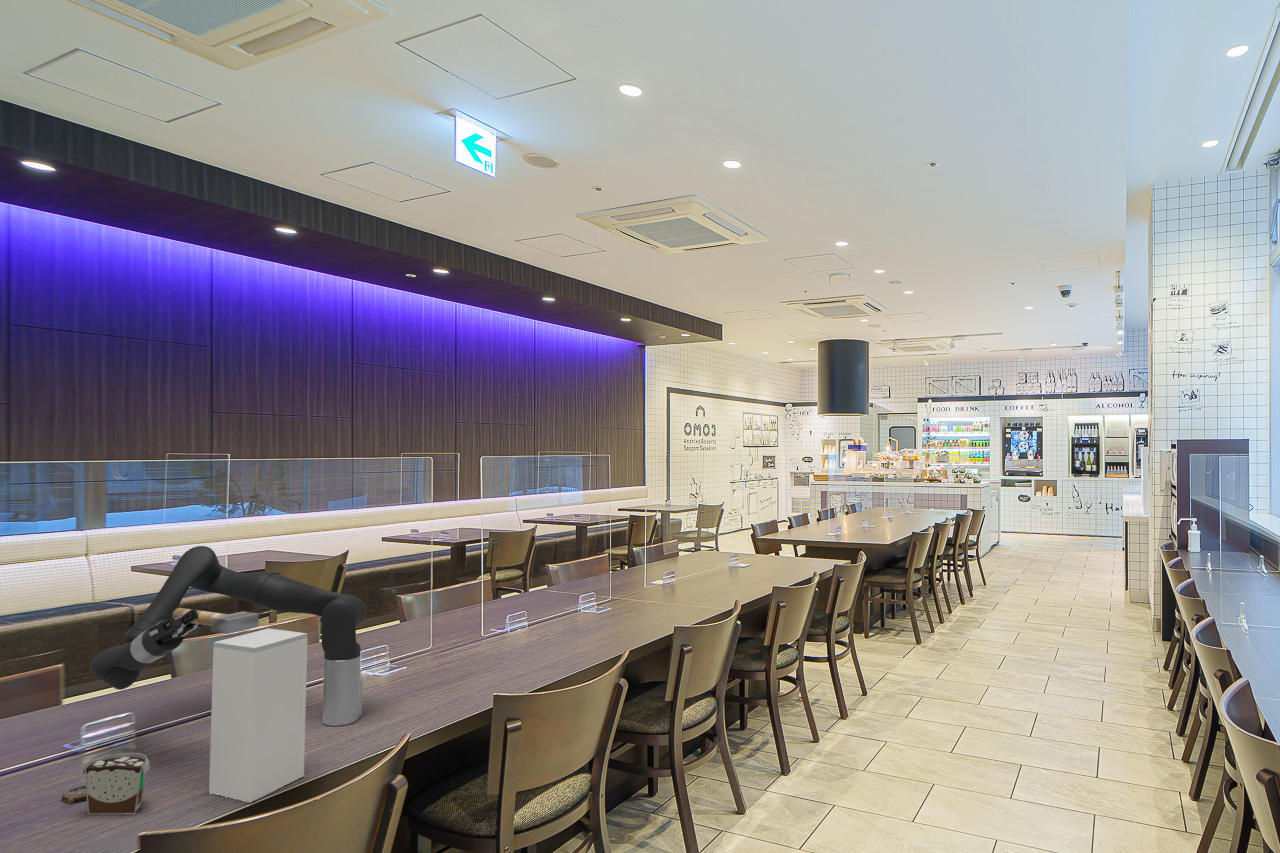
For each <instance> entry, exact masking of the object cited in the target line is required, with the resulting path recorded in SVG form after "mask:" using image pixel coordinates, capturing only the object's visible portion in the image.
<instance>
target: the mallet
mask: <svg viewBox="0 0 1280 853" xmlns="http://www.w3.org/2000/svg"><path fill="white" fill-rule="evenodd" d="M190 610H192V609H190V608H184V607H183V608H182V607H178V608H177V609H176V610H175V611H174V612H173V615H172V617H173V618H177V617H179V616H182V615H184V614H186V613H187V612H189V611H190ZM196 611H197V613H198V618H196V619H195V620H194V621H192V622H190V623H194V624H201V625H206V626H209V627H210V628H211V629H210V630H211V633H218V634H225V635H229V634H235V633H237V632H242V631H245V630H250V629H254V628H258V627H259V620H260V619H259V618H260V616H259V615H260V614H259V612H250V611H240V612H233V613H229V614H228V613H220V612H213V611H212V612H207V611H200V610H199V609H196Z"/></svg>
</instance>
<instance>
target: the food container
mask: <svg viewBox="0 0 1280 853" xmlns="http://www.w3.org/2000/svg"><path fill="white" fill-rule="evenodd" d="M149 770H150V762H149V759H148V757H147V755H145V753H144V754H143V753H139V752H124V753H115V754H109V755H106V756H101V757H99V758H95V759H93V760H91V761H88V762H86V763H84V766H83V768H82V771H81V775H84V777H85V778H84V780H85V785H86V796H87V800H86V804H87V805H86V808H87V810H86V811H87V815H88V814H123V815H126V814H125V813H136V812H137V811H138V810H139V809H140V810H141V806H142V799H143V793H144V792H143V791H144V784H145V778H146V777H145V776H146V773H147V772H149ZM140 810H139V811H140ZM136 814H137V813H136Z"/></svg>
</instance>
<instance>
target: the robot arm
mask: <svg viewBox="0 0 1280 853" xmlns="http://www.w3.org/2000/svg"><path fill="white" fill-rule="evenodd" d="M190 588H192V589H193V590H198V591H201V592H206V593H207V592H208V593H213V594H219V595H224V596H228V597H231V598H234V599H237V600H239V601H243V602H247V603H250V604H253V605H255V606H259V607H262V608H265V609H268V610H272V611H276V612H281V613H282V612H284V613H290V614H291V613H293V614H294V613H295V614H307V615H313V616H318V617H321V622H320V623H321V624H320V625H321V628H320V629H321V630H320V631H321V647H322V650H323V653H324V654H323V655H324V656H323V657H324V658H323V661H324V662H323V663H324V664H323V691H322V692H323V694H322V695H323V696H322V697H323V698H322V699H323V701H322V702H323V703H322V724H324V725H325V726H335V727H337V726H339V727H340V726H344V725H349V724H352V723H355V722H357V721H358V720H359V719H360V717H362V711H363V681H362V680H361V652H362V651H361V650H362V648H361V644H360V643H358V642H357V634H356V633H357V626H359V625H360V624H361V623H362V622H363V621H364V619H365V618H366V615H367V606H366V605H365V603H364V602H363V601H362V599H360V598H359V597H357V596H354V595H352V594H347V593H343V592H342V593H341V592H336V591H332V590H331V591H330V590H326V589H322V588H318V587H316V586H313V585H310V584H308V583H304V582H301V581H299V580H295V579H293V578H289V577H286V576H284V575H281V574H276V573H274V572H270V571H269V572H268V571H259V572H258V571H257V572H249V573H245V572H244V573H243V572H238V571H235V570H232V569H229V568H227V567H224V566H223V565H221V564H220V561H219V559H218V557H217V554H216V553H215V551H214V550H213V549H212V548H211V547H209V546H206V545H198V546H194V547H192V548H189V549H188V550H186V551H184V553H183V554H182V555H181V556H180V558H179V560H178V561H177V563H176V564H175V566H174V568H173V569H172V571H171V572H170V574H169V576H168V577H167V579H166V580H165V582H164V583H163V585H162V587H161V589H160V590H159V591H158V592H157V594H156V596H155V597H154V599H153V600H152V601H151V602H150V604H149V605H148V607H147V608H146V609H145V610H144V612H143V613H142V614H141V616H139V618H138V619H137V620H136V622H135V623H133V625H132V626H131V627H130V629H128V630H127V632H126V633H125V634H124V636H123V638H122V641H123V643H124V644H120V645H115V646H112V647H109V648H107V649H105V650H102V651H101V652H100V653H98V654H97V655H96V656H95V657H93V659H92V660H91V662H90V664H89V665H90V666H89V672H90V673H91V675H92V676H93V677H95V678H96V679H98V680H100V681H102V682H104V683H105V684H107V685H109V686H110V687H112V688H114V689H116V690H119V691H120V690H125V689H127V688H130V687H131V685H133V684H134V683H135V682H136V681H137V679H138V678H139V676H140V674H141V671H142V670H143V669H144V668H146V667H147V666H149V665H150V664H152V663H153V662H155V661H158V660H160V659H161V658H163V657H164V656H166V655H167V654H169V653H171V652H172V651H174V650H176V649H177V648H179V647H180V646H181V645H182V643H183V641H184V638H185V637H186V636H187V635H189V633H190V632H192V631H194V630H196V629H197V628H198V629H201V630H202V629H204V628H205V627H207V625H201V624H194V623H190V622H192V621H194V620H195V619H196V618H198V613H197V611H196V610H197V609H196V608H195V609H194V608H193V609H192V610H190V611H189V612H187V613H186V614H184V615H182V616H179V617H177V618H173V617H172V615H173V612H174V611H175V610H176V609H177V608H180V604H181V602H182V600H183V598H184V597H185V596H186V594H187V593H188V591H189V589H190ZM199 611H207V612H213V611H212V608H211V606H210V605H209V606H205V607H203V608H202V609H200V610H199Z"/></svg>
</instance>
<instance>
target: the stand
mask: <svg viewBox="0 0 1280 853" xmlns="http://www.w3.org/2000/svg"><path fill="white" fill-rule="evenodd" d="M308 636H309V635H308V633H306V632H299V631H290V630H284V629H277V628H265V629H261V630H257V631H253V632H249V633H245V634H241V635H237V636H232V637H230V638H225V639H221V640H217V641H214V642H213V651H212V653H213V654H212V680H211V681H212V682H211V683H212V687H211V688H212V689H211V712H210V713H211V717H210V748H209V750H210V751H209V753H210V754H209V782H208V783H209V784H208V786H209V788H208V794H209V793H210V794H209V795H211V794H216V795H221V796H225V797H230V798H233V799H239V800H242V801H249V802H251V801H253V800H255V799H257V798H259V797H261V796H263V795H265V794H267V793H269V792H271V791H274V790H276V789H278V788H281V787H283V786H284V785H287V784H289V783H290V782H293V781H295V780H297V779H299V778H301V777H303V776H304V777H305V746H306V744H305V743H306V741H305V740H306V714H307V713H306V710H307V709H306V708H307V707H306V706H307V705H306V704H307V703H306V701H307V675H308V674H307V670H308V668H307V667H308V662H307V661H308Z"/></svg>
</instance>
